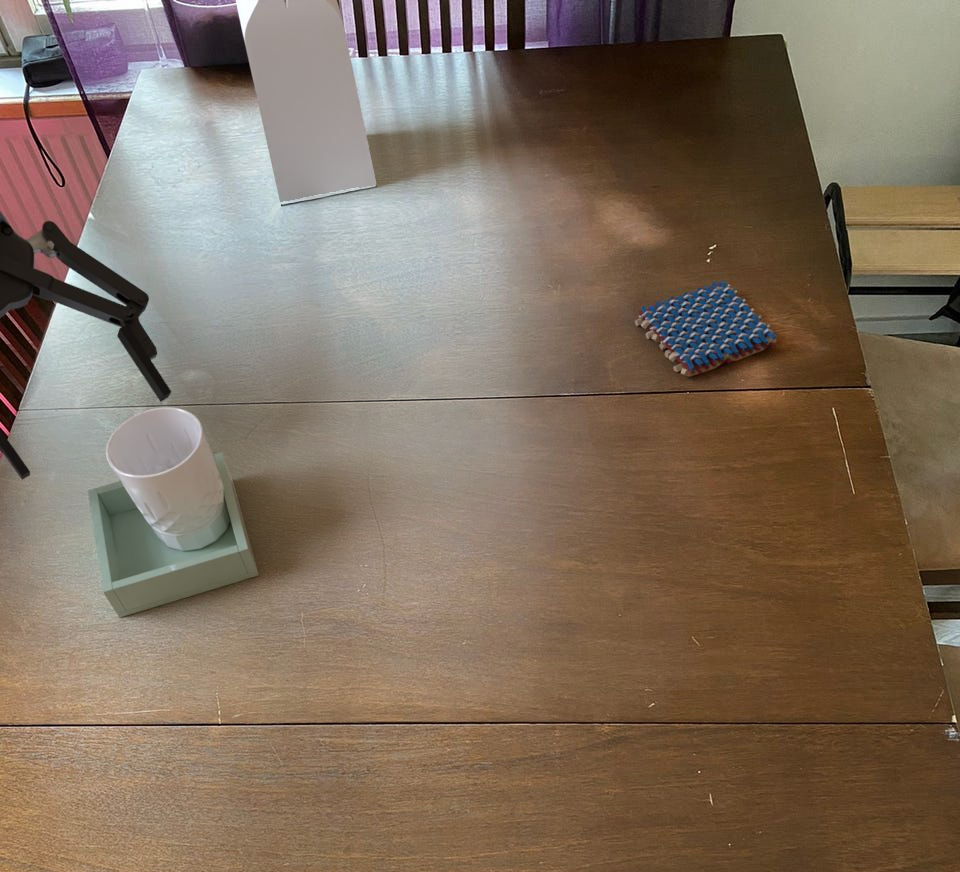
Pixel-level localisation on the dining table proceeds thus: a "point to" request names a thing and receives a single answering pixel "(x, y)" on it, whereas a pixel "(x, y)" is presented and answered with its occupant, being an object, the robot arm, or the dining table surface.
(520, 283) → the dining table surface
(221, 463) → the socket
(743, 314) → the woven mat
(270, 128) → the milk
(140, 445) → the white cup
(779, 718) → the dining table surface
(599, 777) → the dining table surface
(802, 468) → the dining table surface
